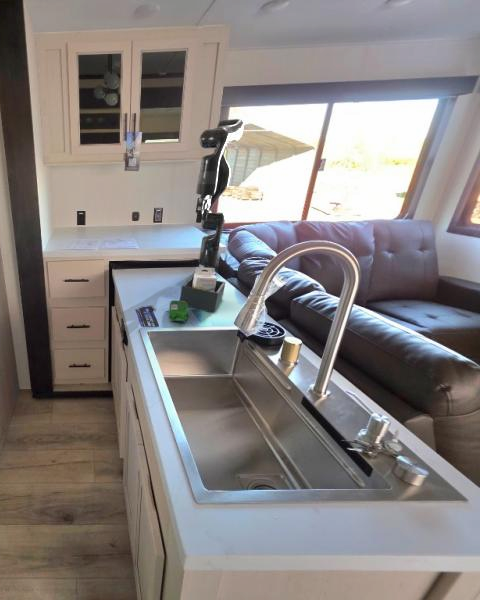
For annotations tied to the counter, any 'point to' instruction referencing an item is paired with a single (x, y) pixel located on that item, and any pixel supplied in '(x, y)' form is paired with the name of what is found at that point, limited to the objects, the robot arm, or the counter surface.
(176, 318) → the snack package
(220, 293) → the waste bin
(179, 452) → the counter surface
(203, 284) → the ink cartridge box
